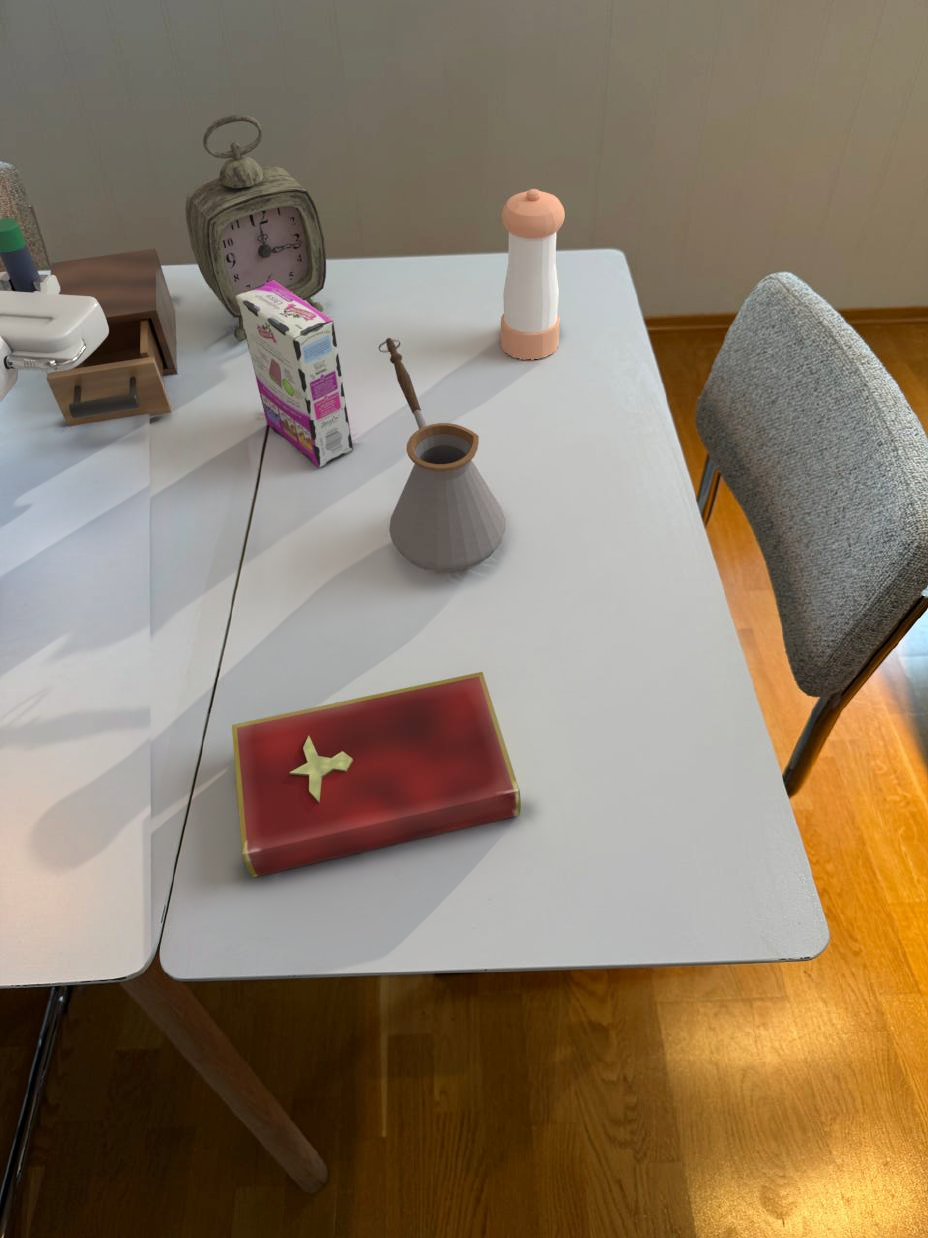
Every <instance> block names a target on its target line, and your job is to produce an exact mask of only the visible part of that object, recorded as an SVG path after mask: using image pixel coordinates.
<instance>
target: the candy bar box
mask: <svg viewBox="0 0 928 1238" xmlns="http://www.w3.org/2000/svg"><path fill="white" fill-rule="evenodd" d="M236 298H237V302H238V306H239V310H240V314H241V317H242V322H243V329H244V331H245V335H246V339H245V340H246V343H247V347H248V351H249V355H250V359H251V363H252V367H253V372H254V376H255V380H256V385H257V389H258V393H259V397H260V401H261V405H262V409H263V413H264V417H265V422H266V424H267V425H268V426H269V427H270V428H271V429H273V431H274V432H276V433H277V434H279V436H281V437H282V438H283V439H285V441H287V442H289V444H291V445H292V446H293V447H294V448H295V449H297V450H298V451H299V452H300V453H301V454H302V455H304V456H305V457H306V458H307V459H308V460H309V461H311V462H312V463H313V464H314V465H316V466H317V467H318V469H319V468H320V469H321V468H323V467H326V466H327V465H329V464H331V463H332V462H335V461H336V460H338V459H339V460H340V458H342V457H344V456H346V455H348V454H349V453H352V452H353V451H354V445H353V440H352V439H353V438H352V432H351V428H350V427H351V426H350V420H349V414H348V408H347V402H346V395H345V390H344V383H343V374H342V369H341V368H342V367H341V363H340V362H341V361H340V355H339V350H338V341H337V337H336V336H337V335H336V331H335V324H334V323H335V322H334V320H333V319H332V318H331V317H329V316H328V315H326V314H325V313H323V312H320V311H319V310H317V309H316V308H314V307H313V306H311V305H310V304H309V303H308V302H307V301H306V300H305V301H304V300H302V299H301V298H299V297H298V296H296V295H295V294H293V293H292V292H290V291H289V290H287V289H286V288H284V287H283V286H281V285H280V284H278V283H277V282H276V281H274V280H272V281H269V282H267V283H264V284H262V285H260V286H257V287H255V288H253V289H251V290H249V291H246V292H243V293H241V294H239V295H237V296H236Z"/></svg>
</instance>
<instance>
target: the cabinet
mask: <svg viewBox="0 0 928 1238" xmlns="http://www.w3.org/2000/svg"><path fill="white" fill-rule="evenodd" d="M49 273H50V274H49V275H55V276H56V278H57V280H58V283H59V285H60V292H59V294H61V295H76V296H90V297H94V298H95V299H96V300H97V301H98V303H99V304H100V306H101V308H102V310H103V312H104V315H105V317H106V320H107V324H113V323H120V322H127V321H133V320H140V319H147V318H151V320H152V323H153V326H154V329H155V331H156V334H157V337H158V340H159V343H160V346H161V349H162V352H163V377H166V376H167V377H168V376H172V375H173V376H174V375H178V357H177V356H178V353H177V328H176V325H177V324H176V309H175V307H174V303H173V300H172V297H171V293H170V291H169V286H168V284H167V280H166V278H165V274H164V271H163V268H162V264H161V262H160V258H159V255H158V251H157V249H156V248H148V249H140V250H134V251H128V252H127V251H126V252H120V253H114V254H113V253H112V254H107V255H106V254H105V255H99V256H93V257H85V258H78V259H72V260H63V261H57V262H51V266H50V272H49Z"/></svg>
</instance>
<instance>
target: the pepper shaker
mask: <svg viewBox="0 0 928 1238" xmlns="http://www.w3.org/2000/svg"><path fill="white" fill-rule="evenodd" d="M565 214H566V213H565V208H564V206H563V204H562V203H561V201H560V200H559V198H558V197H557V196H555V195H554V194H552V193H549V192H546V191H540V190H539V189H538V188H537V189H536V188H530V189H528V190H527V191H522V192H519V193H515V194H514V195H512V196H511V197H509V199H508V200H507V201H506V202H505V204H504V206H503V208H502V212H501V222H502V223H503V226H504V227H505V229H506V231H507V232H508V251H507V253H508V255H507V257H508V259H507V260H508V263H507V269H506V275H505V280H504V286H503V294H502V300H503V314H502V315H501V318H500V346H501V349H502V351H503V352H504V353H505V354H506V353H507V354H506V355H507V356H509V355H511V356H514V357H515V358H514V359H516V358H521V359H524V360H523V361H526V360H525V359H531V360H530V361H535V360H534V359H537V358H542V357H545V356H547V355H549V354H552V353H553V352H554V351H556V352H557V350H558V348H559V346H560V345H559V343H560V325H561V324H560V321H561V317H560V316H559V314H558V307H559V297H560V296H559V293H560V292H559V291H560V290H559V282H558V281H559V280H558V272H557V262H556V255H557V254H556V253H557V232H559V230H560V229H561V227H562V226H563V224H564V221H565V218H566V217H565V216H566V215H565ZM557 347H558V348H557ZM556 349H557V350H556ZM554 353H555V352H554ZM554 353H553V354H554ZM553 354H552V355H553ZM511 356H510V357H511ZM521 359H520V360H521Z"/></svg>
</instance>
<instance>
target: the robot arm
mask: <svg viewBox="0 0 928 1238" xmlns="http://www.w3.org/2000/svg"><path fill="white" fill-rule="evenodd" d="M33 284H34V287H35V289H36V290H38V291H34V292H33V293H30V292H16V290H15V288H14V286H13V284H12V282H11V279H10V277H9V275H8V273H7V271H1V272H0V403H2V401H3V400H4V399H5V397H6V396H7V395H8V394H9V392H10V391H11V390H12V389H13V388H14V386H15V385H16V383H17V381H18V377H19V371H20V370H22V371H32V370H33V371H42V372H47V373H51V372H57V371H66V370H69V369H72V368H74V367H76V366H78V365H79V364H80V363H82V362H83V361H84V360H85V359H86V358H87V357H89V356H90V355H91V354H92V353H93V352H94V351H95V350H96V349H97V348H98V346H99V345H100V344H101V343H102V342H103V341H104V340H105V338H106V337H107V336H108V334H109V328H108V324H107V320H106V317H105V315H104V312H103V310H102V308H101V306H100V304H99V303H98V301H97V300H96V299H95V298H94V297H90V296H76V295H61V294H59V292H60V285H59V283H58V280H57V278H56V276H55V275H50V274H39V275H38V278H36V279H35V280H34V281H33Z"/></svg>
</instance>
